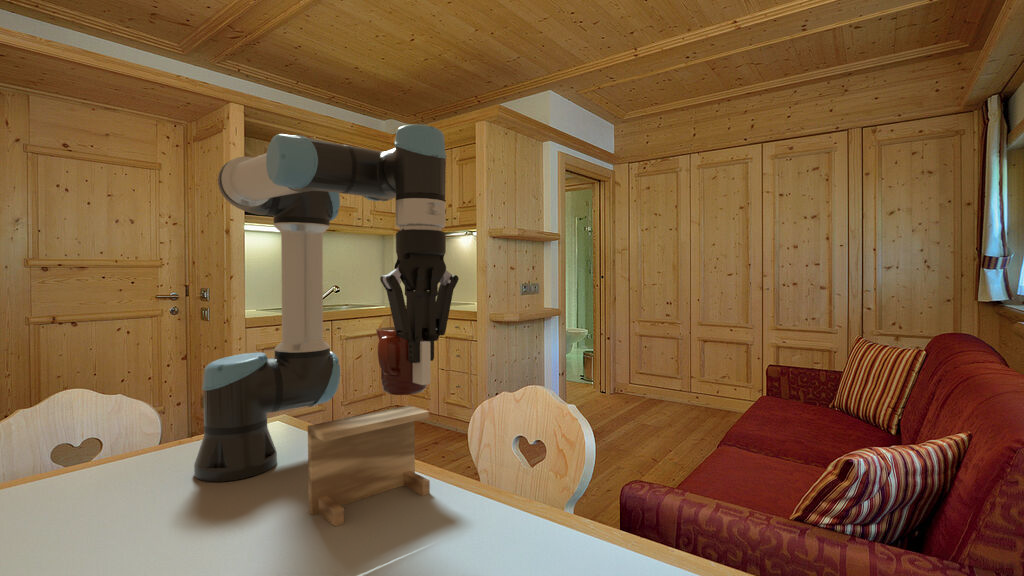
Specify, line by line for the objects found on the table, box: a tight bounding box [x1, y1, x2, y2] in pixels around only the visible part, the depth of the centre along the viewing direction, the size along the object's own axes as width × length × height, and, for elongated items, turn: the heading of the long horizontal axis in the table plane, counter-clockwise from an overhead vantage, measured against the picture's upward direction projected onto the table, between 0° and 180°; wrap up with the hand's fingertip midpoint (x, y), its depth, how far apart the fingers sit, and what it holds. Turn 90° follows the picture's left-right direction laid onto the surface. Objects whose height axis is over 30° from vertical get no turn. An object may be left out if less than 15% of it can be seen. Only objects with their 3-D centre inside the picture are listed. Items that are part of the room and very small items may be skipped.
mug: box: [375, 326, 428, 396], centre depth 81 cm, size 12×9×10 cm
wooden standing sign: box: [307, 405, 431, 527], centre depth 90 cm, size 8×20×15 cm, turn 133°
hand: (421, 382), depth 79 cm, fingers closed
